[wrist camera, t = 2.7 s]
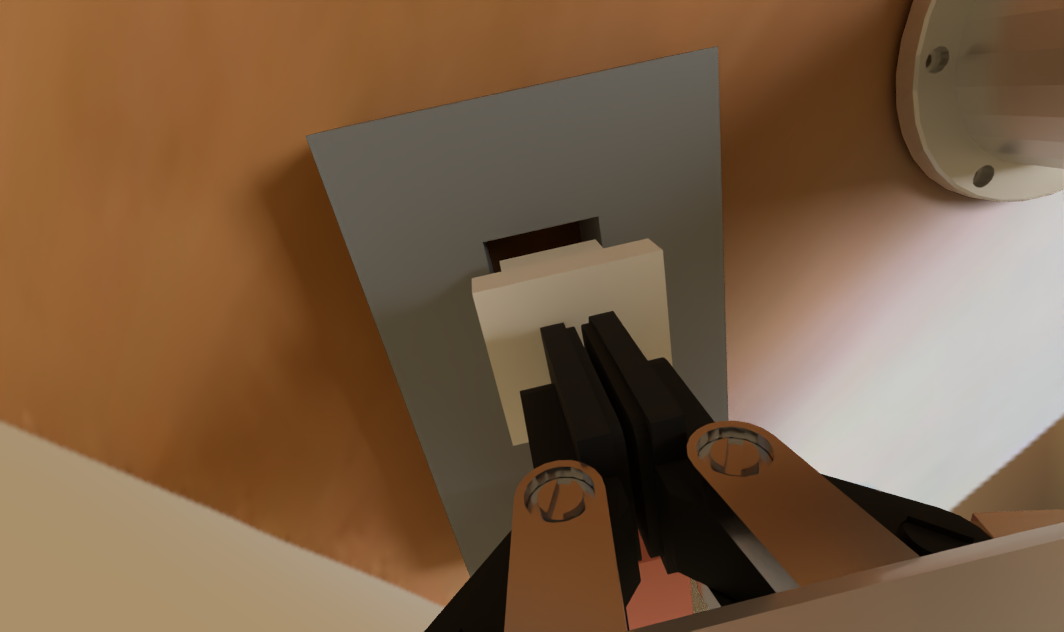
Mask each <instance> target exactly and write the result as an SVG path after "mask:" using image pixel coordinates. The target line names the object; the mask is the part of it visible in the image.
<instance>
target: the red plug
mask: <svg viewBox="0 0 1064 632" xmlns="http://www.w3.org/2000/svg"><path fill="white" fill-rule="evenodd" d="M638 533H639V540H640V547H641V554H642V561H638V563H639V570H640V577H641V582H640V584H639V586H638V587H637V589H636V591H635V593H634V594H633V596H632V598H631V600H630V602H629V603H628V605H627V607H626V609H627V614H628V620H629V627H630V630H633V629H637V628H640V627H644V626H648V625H652V624H656V623H660V622H664V621H668V620H672V619H676V618H680V617H684V616H687V615H691V614H693V605H692V593H691V581H690V578H689V577H687V576H685V575H683V574H681V573H679V572H677V573H673V574H669V575H668V574H667V572H666V569H665V567H664V565H663V562H662V560H661V558H660V556H658V557H654V558H650V556H649V555H648V552H647V550H646V547H645V545H644V542H643V540H642V537H641V535H640V532H639V530H638Z"/></svg>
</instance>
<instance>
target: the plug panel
mask: <svg viewBox="0 0 1064 632" xmlns="http://www.w3.org/2000/svg"><path fill="white" fill-rule="evenodd" d="M306 138H307V141H308V144H309V146H310V149H311V152H312V154H313V157H314V160H315V162H316V165H317V168H318V171H319V173H320V176H321V179H322V181H323V184H324V187H325V189H326V192H327V195H328V197H329V200H330V203H331V205H332V208H333V211H334V213H335V216H336V219H337V221H338V224H339V227H340V229H341V232H342V235H343V238H344V240H345V243H346V246H347V248H348V251H349V254H350V256H351V259H352V262H353V264H354V267H355V270H356V272H357V275H358V278H359V280H360V283H361V286H362V288H363V291H364V294H365V296H366V299H367V302H368V305H369V307H370V310H371V313H372V315H373V318H374V321H375V323H376V326H377V329H378V331H379V334H380V337H381V339H382V342H383V345H384V347H385V350H386V353H387V355H388V358H389V361H390V363H391V366H392V369H393V372H394V374H395V377H396V380H397V382H398V385H399V388H400V390H401V393H402V396H403V398H404V401H405V404H406V406H407V409H408V412H409V414H410V417H411V420H412V422H413V425H414V428H415V430H416V433H417V436H418V439H419V441H420V444H421V447H422V449H423V452H424V455H425V457H426V460H427V463H428V465H429V468H430V471H431V473H432V476H433V479H434V481H435V484H436V487H437V489H438V492H439V495H440V497H441V500H442V503H443V505H444V508H445V511H446V514H447V516H448V519H449V522H450V524H451V527H452V530H453V532H454V535H455V538H456V540H457V543H458V546H459V548H460V551H461V554H462V556H463V559H464V562H465V564H466V567H467V570H468V572H469V575H470V578H471V576H472V575H473V574H474V573H475V572H476V571H477V569H478V568H479V567H480V566H481V565H482V564H483V562H484V561H485V560H486V559H487V558H488V556H489V555H490V554H491V553H492V552H493V551H494V549H495V548H496V547H497V546H498V545H499V544H500V542H501V541H502V540H503V539H504V538H505V537H506V535H507V534H508V533H509V532H510V531H511V530H512V519H513V505H514V497H515V493H516V489H517V487H518V485H519V484H520V482H521V481H522V479H523V478H524V477H525V476H526V475H527V474H528V473H530V472H531V471H532V470H533V469H534V468H533V463H532V457H531V452H530V446H529V442H527V443H523V444H519V445H515V446H513V444H512V440H511V436H510V433H509V429H508V425H507V421H506V418H505V414H504V410H503V407H502V403H501V399H500V395H499V392H498V388H497V384H496V381H495V377H494V373H493V370H492V366H491V362H490V358H489V355H488V351H487V347H486V344H485V340H484V336H483V333H482V329H481V325H480V321H479V318H478V314H477V310H476V307H475V303H474V299H473V295H472V278H475V277H480V276H484V275H488V274H493V273H494V270H493V266H492V262H491V258H490V254H489V250H488V246H487V241H491V240H495V239H500V238H504V237H509V236H513V235H518V234H522V233H526V232H531V231H535V230H540V229H544V228H549V227H553V226H558V225H562V224H566V223H571V222H575V221H578V222H579V228H580V235H581V241H582V242H585V241H590V240H594V239H596V241H597V242H598V243H599V244H600V245H601V246H602V247H603V248H608V247H612V246H616V245H621V244H625V243H630V242H634V241H638V240H643V239H647V238H648V239H650V240H651V241H652V242H653V243H655V244H656V245H657V246H658V247H660V248H661V249H662V250H663V258H664V270H665V282H666V294H667V306H668V318H669V330H670V342H671V354H672V366H673V368H674V369H675V371H676V372H677V373H678V375H679V376H680V377H681V379H682V380H683V381H684V382H685V384H686V385H687V386H688V388H689V389H690V390H691V392H692V393H693V394H694V396H695V397H696V398H697V399H698V401H699V402H700V403H701V405H702V406H703V407H704V409H705V410H706V411H707V413H708V414H709V415H710V416H711V418H712V419H713V420H714V422H719V421H728V394H727V358H726V322H725V285H724V249H723V213H722V176H721V140H720V104H719V67H718V46H717V47H712V48H707V49H702V50H697V51H692V52H687V53H682V54H677V55H672V56H667V57H662V58H657V59H653V60H648V61H644V62H639V63H634V64H630V65H625V66H621V67H616V68H611V69H607V70H602V71H598V72H593V73H588V74H584V75H579V76H575V77H570V78H565V79H561V80H556V81H551V82H547V83H542V84H538V85H533V86H528V87H524V88H519V89H515V90H510V91H505V92H501V93H496V94H492V95H487V96H482V97H478V98H473V99H469V100H464V101H459V102H455V103H450V104H446V105H441V106H436V107H432V108H427V109H423V110H418V111H413V112H409V113H404V114H400V115H395V116H390V117H386V118H381V119H377V120H372V121H367V122H363V123H358V124H354V125H349V126H344V127H340V128H336V129H332V130H328V131H323V132H319V133H315V134H311V135H307V136H306Z"/></svg>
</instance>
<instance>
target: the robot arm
mask: <svg viewBox="0 0 1064 632" xmlns="http://www.w3.org/2000/svg"><path fill="white" fill-rule="evenodd" d="M896 108H897V113H898V118H899V123H900V127H901V132H902V136H903V138H904V140H905V143H906V145H907V147H908V149H909V151H910V153H911V156H912V158H913V159H914V161H915V162H916V163H917V164H918V165H919V167H920V168H921V169H922V170H923V171H924V173H925V174H926V175H927V176H928V177H929V178H931V179H932V180H933V181H935V182H936V183H938V184H939V185H941V186H942V187H944V188H945V189H947V190H950V191H953V192H955V193H958V194H961V195H964V196H967V197H973V198H978V199H984V200H990V201H995V202H1012V201H1026V200H1030V199H1035V198H1039V197H1043V196H1048V195H1051V194H1054V193H1056V192H1058V191H1061V190H1063V189H1064V0H913V3H912V6H911V9H910V13H909V16H908V19H907V22H906V26H905V29H904V32H903V35H902V39H901V45H900V51H899V58H898V64H897V71H896ZM588 319H589V323H586V324H582V325H581V331H582V337H583V342H584V346H583V344H582V341H581V339H580V337H579V335H578V333H577V331H576V329H575V327H574V326H573V327H569V328H566V327H565V324H564V322H563V323H558V324H554V325H550V326H545V327H541V328H540V332H541V337H542V342H543V347H544V351H545V356H546V361H547V365H548V370H549V375H550V380H551V384H547V385H543V386H538V387H534V388H530V389H526V390H521V391H520V397H521V402H522V408H523V413H524V419H525V424H526V430H527V435H528V441H529V446H530V452H531V457H532V463H533V468H534V469H533V470H532V471H531V472H530V473H528V474H527V475H526V476H525V477H524V478H523V479H522V481H521V482H520V484H519V485H518V487H517V489H516V493H515V497H514V505H513V519H512V530H511V531H510V532H509V533H508V534H507V535H506V537H505V538H504V539H503V540H502V541H501V542H500V544H499V545H498V546H497V547H496V548H495V549H494V551H493V552H492V553H491V554H490V555H489V556H488V558H487V559H486V560H485V561H484V562H483V564H482V565H481V566H480V567H479V568H478V569H477V571H476V572H475V573H474V574H473V575H472V576H471V578H470V579H469V580H468V581H467V582H466V583H465V585H464V586H463V587H462V588H461V589H460V590H459V592H458V593H457V594H456V595H455V596H454V597H453V599H452V600H451V601H450V602H449V603H448V604H447V606H446V607H445V608H444V609H443V610H442V611H441V613H440V614H439V615H438V616H437V617H436V618H435V620H434V621H433V622H432V623H431V624H430V626H429V627H428V628H427V629H426V630H425V631H424V632H1064V509H1059V510H1035V511H1034V510H1033V511H1009V512H983V513H973V514H972V518H971V521H968V520H966V519H964V518H963V517H961V516H959V515H956V514H954V513H951V512H948V511H946V510H943V509H941V508H938V507H934V506H931V505H927V504H924V503H920V502H917V501H913V500H910V499H906V498H903V497H899V496H896V495H892V494H889V493H885V492H882V491H878V490H875V489H871V488H868V487H865V486H861V485H858V484H854V483H851V482H847V481H844V480H840V479H837V478H833V477H830V476H826V475H823V474H820V473H819V472H818V471H816V470H815V469H814V468H813V467H811V466H810V465H809V464H808V463H807V462H805V461H804V460H803V459H802V458H801V457H799V456H798V455H797V454H796V453H795V452H793V451H792V450H791V449H790V448H789V447H787V446H786V445H785V444H784V443H782V442H781V441H780V440H779V439H778V438H776V437H775V436H774V435H773V434H771V433H769V432H768V431H766V430H765V429H763V428H761V427H758V426H755V425H753V424H750V423H745V422H739V421H719V422H714V420H713V419H712V418H711V416H710V415H709V414H708V413H707V411H706V410H705V409H704V407H703V406H702V405H701V403H700V402H699V401H698V399H697V398H696V397H695V396H694V394H693V393H692V392H691V390H690V389H689V388H688V386H687V385H686V384H685V382H684V381H683V380H682V379H681V377H680V376H679V375H678V373H677V372H676V371H675V369H674V368H673V367H672V365H671V364H670V363H669V362H668V360H667V359H666V358H664V357H661V358H657V359H653V360H647V359H646V357H645V356H644V355H643V353H642V352H641V350H640V349H639V347H638V346H637V344H636V343H635V342H634V340H633V339H632V337H631V336H630V334H629V333H628V331H627V330H626V328H625V327H624V326H623V324H622V323H621V321H620V320H619V318H618V317H617V315H616V314H615V312H614V311H610V312H605V313H601V314H597V315H593V316H589V318H588ZM638 530H639V532H640V535H641V537H642V540H643V542H644V545H645V547H646V550H647V552H648V555H649V556H650V558H654V557H658V556H660V558H661V560H662V562H663V565H664V567H665V569H666V572H667V574H668V575H669V574H673V573H677V572H679V573H681V574H683V575H685V576H687V577H689V578H692V579H694V580H696V581H697V587H698V590H699V592H700V594H701V596H702V598H703V600H704V602H705V603H706V605H707V606H708V608H709V609H710V610H707V611H703V612H699V613H695V614H691V615H687V616H684V617H680V618H676V619H672V620H668V621H664V622H660V623H656V624H652V625H648V626H644V627H640V628H637V629H633V630H630V627H629V620H628V614H627V609H626V607H627V605H628V603H629V602H630V600H631V598H632V596H633V594H634V593H635V591H636V589H637V587H638V586H639V584H640V582H641V577H640V570H639V563H638V561H642V554H641V547H640V540H639V533H638Z"/></svg>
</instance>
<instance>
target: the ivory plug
mask: <svg viewBox="0 0 1064 632" xmlns="http://www.w3.org/2000/svg"><path fill="white" fill-rule="evenodd" d="M499 262H500V267H501V272H497V273H493V274H488V275H484V276H480V277H475V278H472V295H473V299H474V303H475V307H476V310H477V314H478V318H479V321H480V325H481V329H482V333H483V336H484V340H485V344H486V347H487V351H488V355H489V358H490V362H491V366H492V370H493V373H494V377H495V381H496V384H497V388H498V392H499V395H500V399H501V403H502V407H503V410H504V414H505V418H506V421H507V425H508V429H509V433H510V436H511V440H512V444H513V446H515V445H519V444H523V443H527V442H529V441H528V435H527V430H526V424H525V419H524V413H523V408H522V402H521V397H520V391H521V390H526V389H530V388H534V387H538V386H543V385H547V384H551V380H550V375H549V370H548V365H547V361H546V356H545V351H544V347H543V342H542V337H541V332H540V328H541V327H545V326H550V325H554V324H558V323H563V322H564V324H565V327H566V328H569V327H573V326H574V327H575V329H576V331H577V333H578V335H579V337H580V339H581V341H582V344H583V346H584V342H583V337H582V331H581V325H582V324H586V323H589V319H588V318H589V316H593V315H597V314H601V313H605V312H610V311H614V312H615V314H616V315H617V317H618V318H619V320H620V321H621V323H622V324H623V326H624V327H625V328H626V330H627V331H628V333H629V334H630V336H631V337H632V339H633V340H634V342H635V343H636V344H637V346H638V347H639V349H640V350H641V352H642V353H643V355H644V356H645V357H646V359H647V360H653V359H657V358H661V357H664V358H666V359H667V360H668V362H669V363H670V364H671V365H672V354H671V342H670V330H669V318H668V306H667V294H666V282H665V270H664V258H663V250H662V249H661V248H660V247H658V246H657V245H656V244H655V243H653V242H652V241H651V240H650V239H648V238H647V239H643V240H638V241H634V242H630V243H625V244H621V245H616V246H612V247H608V248H603V247H602V246H601V245H600V244H599V243H598V242H597V241H596V239H594V240H590V241H585V242H581V243H576V244H572V245H568V246H563V247H559V248H554V249H550V250H545V251H541V252H537V253H532V254H528V255H523V256H519V257H515V258H510V259H506V260H501V261H499ZM672 367H673V366H672Z"/></svg>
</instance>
